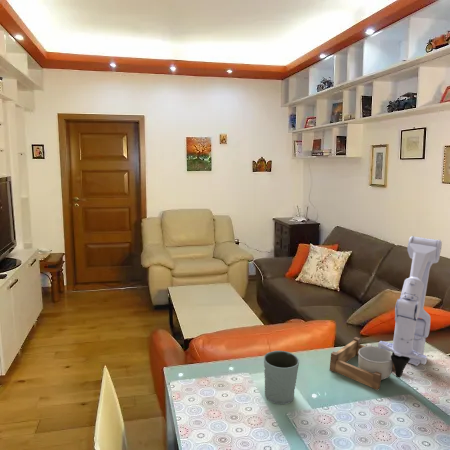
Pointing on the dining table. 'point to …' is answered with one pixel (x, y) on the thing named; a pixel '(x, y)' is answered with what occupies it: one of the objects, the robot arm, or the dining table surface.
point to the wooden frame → (351, 371)
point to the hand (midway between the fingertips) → (398, 376)
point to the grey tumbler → (280, 376)
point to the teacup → (375, 360)
